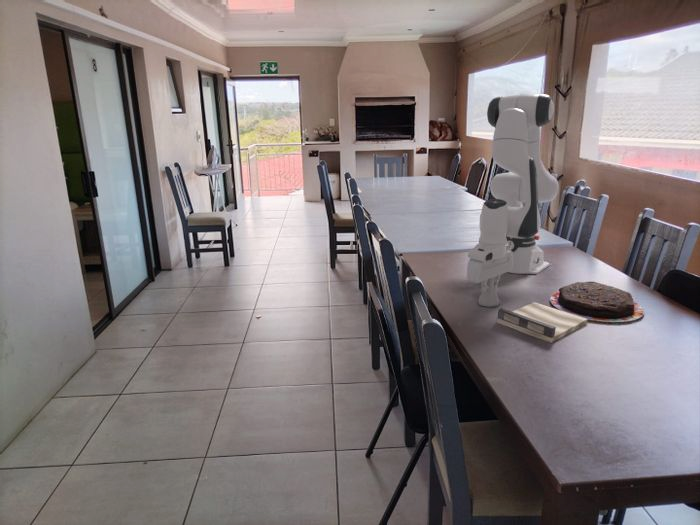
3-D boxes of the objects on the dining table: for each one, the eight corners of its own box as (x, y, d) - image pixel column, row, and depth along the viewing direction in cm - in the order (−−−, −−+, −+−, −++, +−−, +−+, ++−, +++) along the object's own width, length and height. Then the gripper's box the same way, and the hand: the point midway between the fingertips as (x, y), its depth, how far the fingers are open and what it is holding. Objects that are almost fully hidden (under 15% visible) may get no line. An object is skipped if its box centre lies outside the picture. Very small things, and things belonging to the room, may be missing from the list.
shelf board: (533, 306, 159) (535, 293, 158) (586, 323, 146) (588, 310, 144) (496, 322, 148) (497, 309, 146) (550, 343, 134) (552, 328, 133)
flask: (500, 308, 158) (502, 280, 155) (477, 306, 160) (479, 278, 157) (499, 300, 165) (501, 272, 162) (477, 298, 167) (479, 271, 164)
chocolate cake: (605, 333, 140) (609, 312, 138) (531, 301, 164) (533, 284, 162) (662, 313, 153) (666, 294, 151) (585, 287, 176) (588, 270, 174)
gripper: (503, 241, 165) (500, 279, 169) (464, 253, 153) (462, 293, 157) (519, 245, 160) (515, 284, 164) (480, 258, 148) (478, 299, 153)
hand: (489, 289), depth 161 cm, fingers open, 3 cm apart
